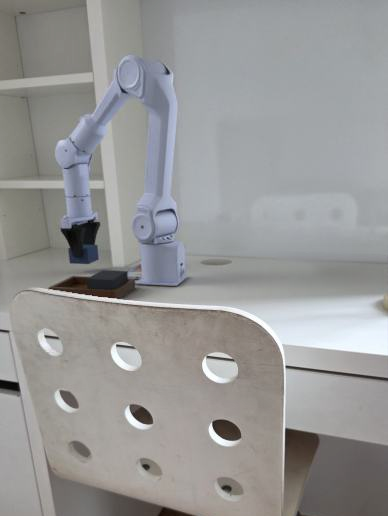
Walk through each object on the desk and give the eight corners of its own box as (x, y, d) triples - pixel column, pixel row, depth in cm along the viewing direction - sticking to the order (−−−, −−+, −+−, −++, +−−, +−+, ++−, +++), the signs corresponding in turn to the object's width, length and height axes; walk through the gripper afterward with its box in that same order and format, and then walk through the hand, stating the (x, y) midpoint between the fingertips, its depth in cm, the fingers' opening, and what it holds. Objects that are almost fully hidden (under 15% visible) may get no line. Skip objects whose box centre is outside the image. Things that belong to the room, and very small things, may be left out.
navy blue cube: (98, 259, 128) (97, 244, 127) (88, 264, 123) (87, 248, 122) (80, 258, 130) (78, 244, 128) (69, 263, 125) (68, 248, 124)
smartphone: (121, 275, 119) (143, 261, 132) (121, 279, 119) (143, 265, 133) (152, 275, 117) (171, 261, 131) (152, 280, 117) (171, 265, 131)
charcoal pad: (128, 287, 110) (127, 271, 109) (113, 296, 103) (112, 279, 102) (104, 285, 111) (102, 270, 110) (87, 295, 105) (86, 278, 103)
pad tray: (135, 288, 111) (134, 278, 110) (116, 301, 102) (115, 291, 101) (73, 285, 115) (72, 275, 114) (49, 297, 106) (48, 287, 105)
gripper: (77, 193, 129) (82, 248, 134) (46, 199, 116) (53, 260, 121) (103, 193, 127) (108, 249, 132) (74, 199, 114) (81, 261, 119)
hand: (83, 254), depth 126 cm, fingers closed on navy blue cube, 5 cm apart
